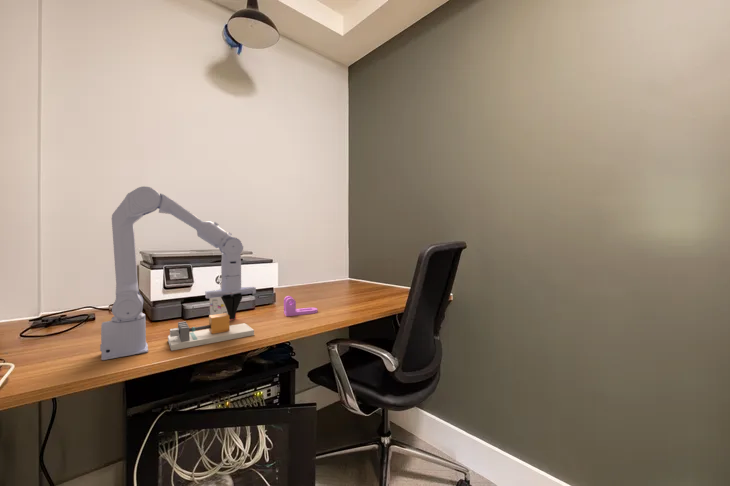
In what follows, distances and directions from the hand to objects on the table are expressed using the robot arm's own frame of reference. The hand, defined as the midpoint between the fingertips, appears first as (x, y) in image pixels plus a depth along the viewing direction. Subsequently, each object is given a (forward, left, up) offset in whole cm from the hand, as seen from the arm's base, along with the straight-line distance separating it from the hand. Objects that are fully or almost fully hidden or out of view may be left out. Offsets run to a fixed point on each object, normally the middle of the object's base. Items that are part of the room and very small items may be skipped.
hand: (231, 318), depth 97 cm
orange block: (-4, 0, -3) cm, 5 cm away
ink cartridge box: (+1, +18, -5) cm, 19 cm away
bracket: (+29, +12, -5) cm, 32 cm away
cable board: (-6, 0, -5) cm, 8 cm away
